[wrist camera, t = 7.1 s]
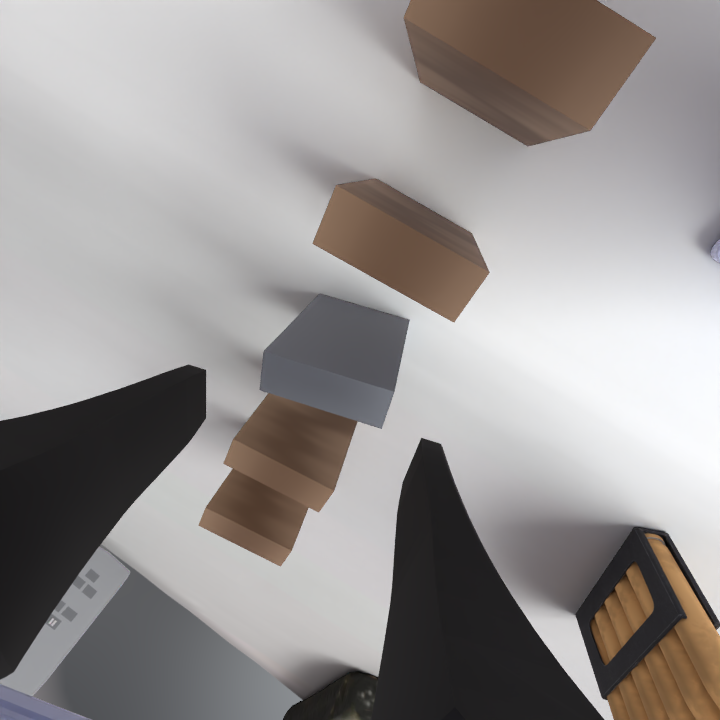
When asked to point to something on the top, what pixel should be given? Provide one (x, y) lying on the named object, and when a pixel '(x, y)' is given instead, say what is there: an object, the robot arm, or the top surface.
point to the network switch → (339, 700)
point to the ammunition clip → (652, 635)
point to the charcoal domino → (337, 359)
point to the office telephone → (69, 621)
